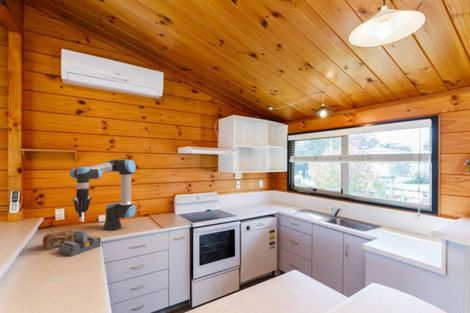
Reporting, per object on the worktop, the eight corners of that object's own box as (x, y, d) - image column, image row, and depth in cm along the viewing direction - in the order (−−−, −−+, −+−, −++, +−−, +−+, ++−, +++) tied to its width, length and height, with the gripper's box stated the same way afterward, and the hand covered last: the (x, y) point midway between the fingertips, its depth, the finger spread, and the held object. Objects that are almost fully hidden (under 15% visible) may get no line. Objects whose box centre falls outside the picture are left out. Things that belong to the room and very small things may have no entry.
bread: (46, 250, 164) (47, 236, 164) (42, 247, 171) (42, 233, 171) (76, 243, 179) (77, 230, 179) (71, 240, 186) (72, 227, 186)
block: (87, 245, 167) (87, 231, 167) (83, 247, 164) (83, 232, 165) (79, 243, 171) (79, 229, 171) (74, 245, 168) (75, 230, 168)
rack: (88, 243, 180) (89, 234, 180) (101, 246, 174) (101, 236, 174) (59, 253, 160) (59, 242, 161) (71, 256, 155) (72, 246, 155)
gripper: (88, 187, 176) (87, 218, 175) (69, 188, 164) (68, 222, 163) (94, 187, 173) (93, 219, 172) (76, 189, 161) (75, 224, 160)
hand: (81, 221), depth 168 cm, fingers closed
